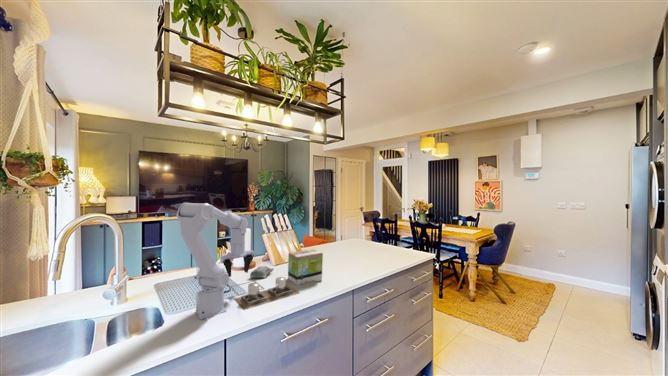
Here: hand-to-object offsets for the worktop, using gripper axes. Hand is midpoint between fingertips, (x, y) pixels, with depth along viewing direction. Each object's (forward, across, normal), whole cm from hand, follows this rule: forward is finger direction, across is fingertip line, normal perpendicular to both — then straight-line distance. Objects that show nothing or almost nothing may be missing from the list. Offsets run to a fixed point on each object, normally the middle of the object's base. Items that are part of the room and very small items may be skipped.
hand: (237, 274), depth 113 cm
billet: (+8, +14, -13) cm, 21 cm away
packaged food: (+10, +20, +13) cm, 26 cm away
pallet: (+9, +8, -13) cm, 18 cm away
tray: (+9, +5, +2) cm, 11 cm away
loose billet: (+8, +2, -11) cm, 14 cm away
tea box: (+10, +32, -7) cm, 34 cm away
